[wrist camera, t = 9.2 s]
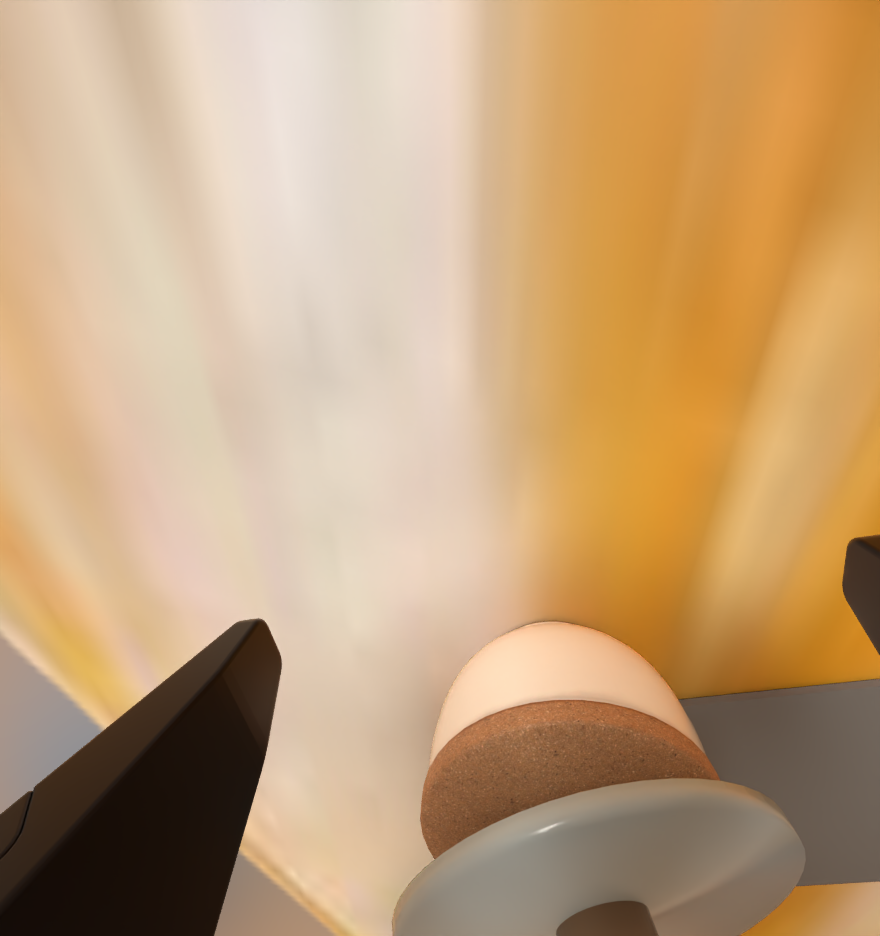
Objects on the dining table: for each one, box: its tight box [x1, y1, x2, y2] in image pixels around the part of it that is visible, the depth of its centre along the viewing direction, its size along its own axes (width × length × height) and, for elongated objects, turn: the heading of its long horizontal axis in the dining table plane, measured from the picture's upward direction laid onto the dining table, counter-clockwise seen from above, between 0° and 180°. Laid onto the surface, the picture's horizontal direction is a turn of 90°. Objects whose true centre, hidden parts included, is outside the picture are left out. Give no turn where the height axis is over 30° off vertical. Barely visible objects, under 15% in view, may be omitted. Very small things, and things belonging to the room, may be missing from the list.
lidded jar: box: [420, 621, 720, 859], centre depth 22 cm, size 11×11×9 cm
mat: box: [679, 679, 880, 886], centre depth 30 cm, size 16×16×1 cm
